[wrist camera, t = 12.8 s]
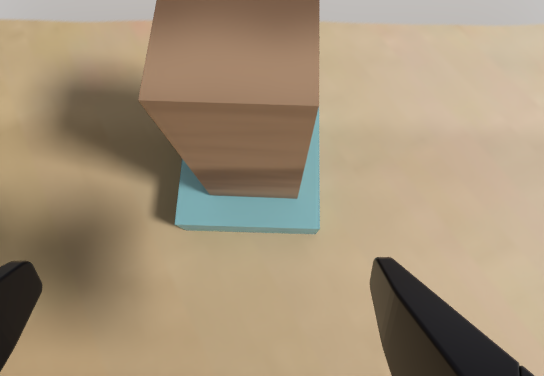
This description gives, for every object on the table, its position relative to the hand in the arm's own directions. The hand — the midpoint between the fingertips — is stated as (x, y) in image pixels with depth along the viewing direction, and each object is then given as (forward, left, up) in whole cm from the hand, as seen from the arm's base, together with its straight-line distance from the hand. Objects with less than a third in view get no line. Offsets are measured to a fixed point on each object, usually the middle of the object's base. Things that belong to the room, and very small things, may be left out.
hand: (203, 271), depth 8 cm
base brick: (+6, +4, -14) cm, 16 cm away
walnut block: (+7, +4, -11) cm, 13 cm away
